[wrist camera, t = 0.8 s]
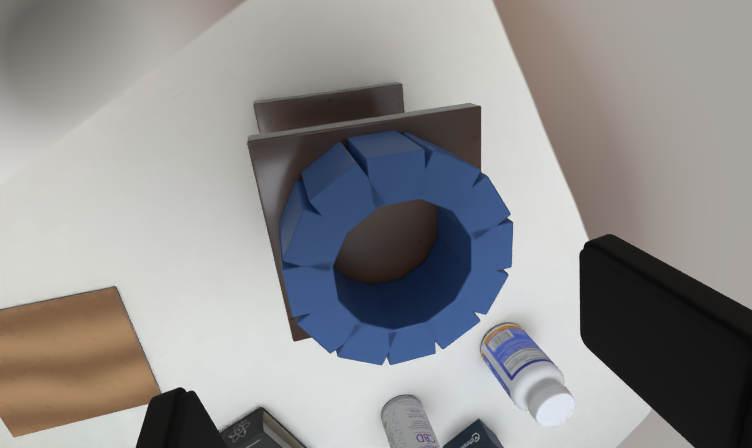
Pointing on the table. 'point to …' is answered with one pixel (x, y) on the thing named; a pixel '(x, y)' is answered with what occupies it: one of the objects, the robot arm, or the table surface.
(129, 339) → the mat
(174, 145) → the table surface
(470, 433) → the watch
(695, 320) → the robot arm
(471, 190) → the ring
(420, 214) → the platform
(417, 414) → the container
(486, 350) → the pill bottle
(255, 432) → the book
